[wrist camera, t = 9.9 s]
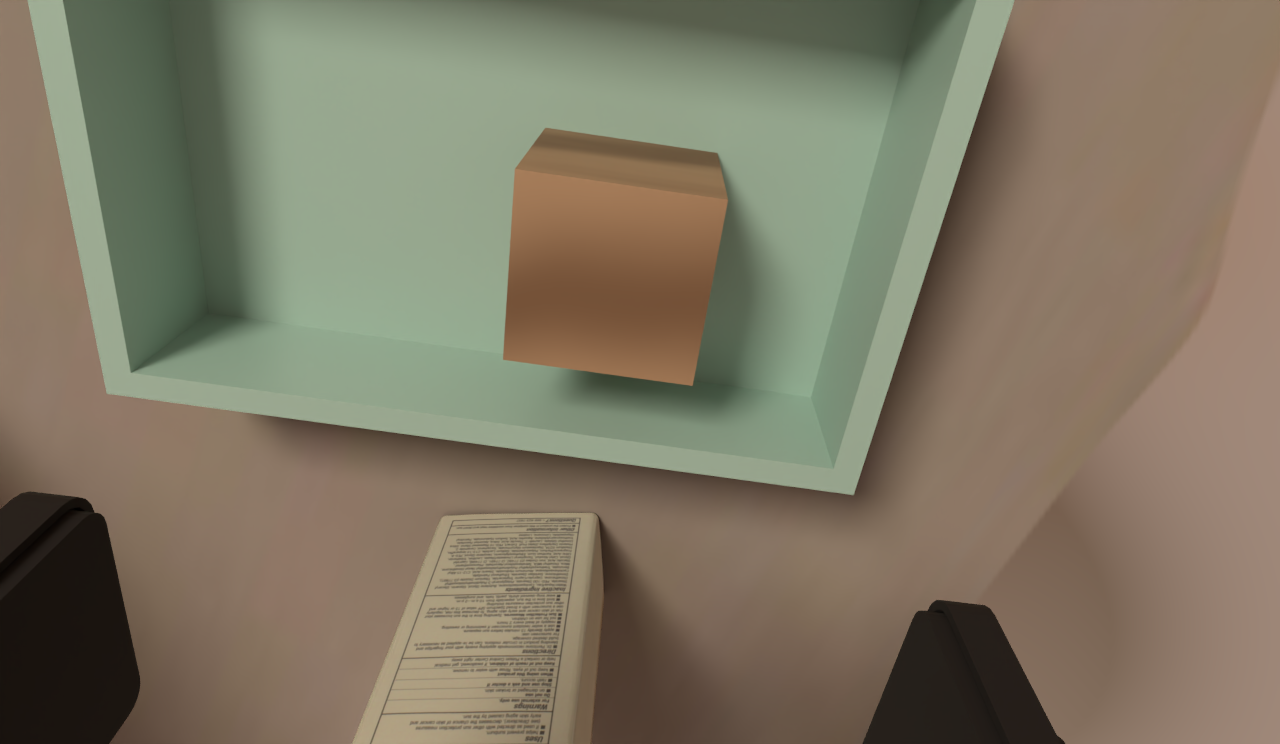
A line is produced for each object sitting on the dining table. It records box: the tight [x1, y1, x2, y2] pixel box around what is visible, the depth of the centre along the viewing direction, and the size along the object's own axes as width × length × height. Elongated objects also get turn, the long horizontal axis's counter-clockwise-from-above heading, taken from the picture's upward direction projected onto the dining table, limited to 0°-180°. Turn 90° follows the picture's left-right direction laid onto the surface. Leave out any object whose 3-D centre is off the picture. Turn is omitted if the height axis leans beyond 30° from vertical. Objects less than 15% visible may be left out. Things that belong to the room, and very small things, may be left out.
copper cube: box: [503, 128, 728, 386], centre depth 22 cm, size 5×5×5 cm
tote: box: [28, 0, 1014, 495], centre depth 22 cm, size 22×15×5 cm
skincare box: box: [352, 513, 604, 744], centre depth 26 cm, size 6×4×12 cm
